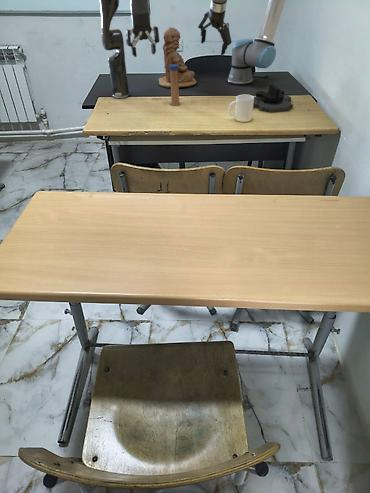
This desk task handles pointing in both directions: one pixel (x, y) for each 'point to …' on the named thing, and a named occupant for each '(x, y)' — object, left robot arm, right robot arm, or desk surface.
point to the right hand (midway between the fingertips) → (212, 48)
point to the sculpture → (175, 61)
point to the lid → (173, 67)
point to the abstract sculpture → (272, 100)
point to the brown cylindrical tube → (174, 87)
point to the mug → (242, 108)
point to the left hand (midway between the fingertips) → (144, 55)
